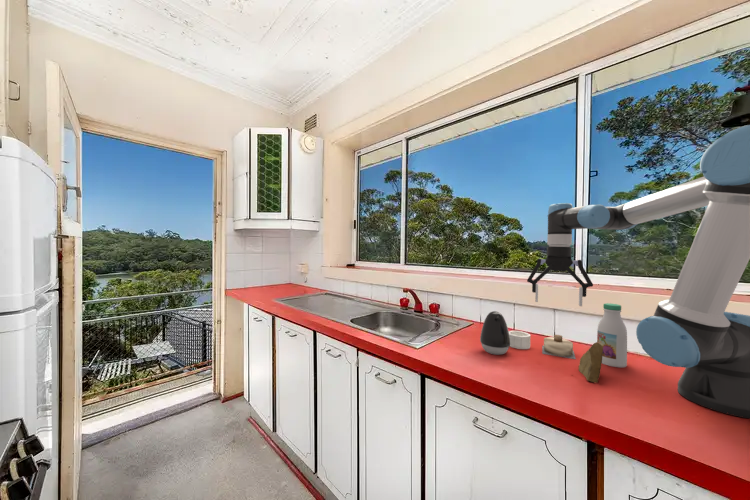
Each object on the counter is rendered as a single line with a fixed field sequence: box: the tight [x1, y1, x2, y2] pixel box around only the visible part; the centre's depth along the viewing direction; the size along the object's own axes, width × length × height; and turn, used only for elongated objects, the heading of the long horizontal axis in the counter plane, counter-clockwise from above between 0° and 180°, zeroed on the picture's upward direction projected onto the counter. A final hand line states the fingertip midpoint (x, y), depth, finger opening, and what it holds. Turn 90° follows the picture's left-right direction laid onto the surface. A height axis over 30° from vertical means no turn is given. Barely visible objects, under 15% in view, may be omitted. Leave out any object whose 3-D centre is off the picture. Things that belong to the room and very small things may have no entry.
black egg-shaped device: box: [479, 310, 510, 356], centre depth 104 cm, size 10×10×15 cm
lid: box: [543, 334, 574, 358], centre depth 104 cm, size 9×9×6 cm
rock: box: [578, 341, 603, 384], centre depth 86 cm, size 11×9×10 cm
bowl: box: [508, 330, 531, 350], centre depth 111 cm, size 8×8×5 cm
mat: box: [541, 344, 577, 360], centre depth 104 cm, size 10×10×1 cm
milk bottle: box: [596, 302, 628, 368], centre depth 95 cm, size 8×8×20 cm
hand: (557, 303), depth 104 cm, fingers open, 13 cm apart
